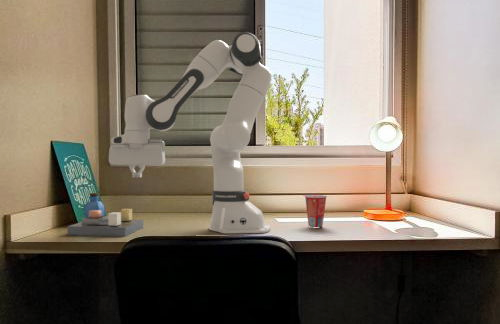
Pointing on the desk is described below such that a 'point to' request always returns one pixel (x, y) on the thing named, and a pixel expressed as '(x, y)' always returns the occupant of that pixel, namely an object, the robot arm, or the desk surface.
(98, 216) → the push button
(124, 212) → the brass slider
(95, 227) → the console
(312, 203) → the cup
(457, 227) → the desk surface
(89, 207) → the perfume bottle
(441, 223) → the desk surface
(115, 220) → the ivory slider
